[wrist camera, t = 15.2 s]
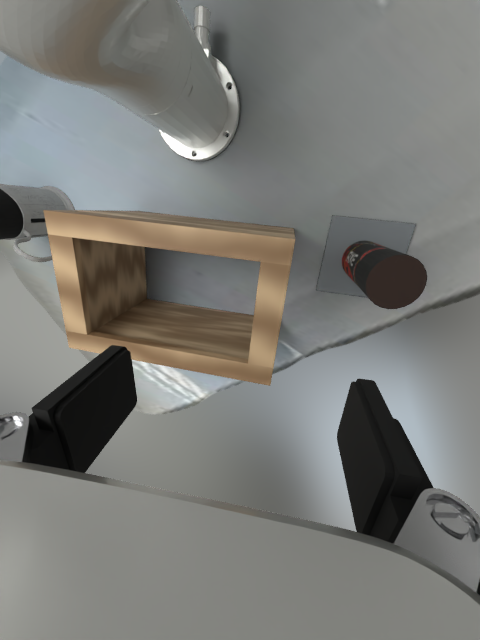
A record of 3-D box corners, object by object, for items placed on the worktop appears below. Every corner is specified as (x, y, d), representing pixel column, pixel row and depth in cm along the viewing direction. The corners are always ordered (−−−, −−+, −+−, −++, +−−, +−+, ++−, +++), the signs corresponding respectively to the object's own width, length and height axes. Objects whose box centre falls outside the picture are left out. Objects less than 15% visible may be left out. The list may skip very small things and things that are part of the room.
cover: (137, 211, 45) (43, 210, 28) (293, 228, 42) (295, 239, 25) (142, 302, 52) (69, 347, 35) (277, 324, 49) (270, 385, 31)
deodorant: (376, 279, 42) (417, 311, 29) (338, 276, 43) (360, 306, 29) (385, 241, 40) (434, 256, 26) (345, 239, 41) (372, 253, 27)
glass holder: (43, 174, 46) (-61, 158, 32) (107, 232, 48) (34, 240, 34) (26, 213, 49) (-75, 214, 36) (86, 266, 51) (13, 286, 38)
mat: (332, 215, 40) (332, 215, 40) (415, 223, 39) (416, 223, 38) (315, 289, 45) (316, 290, 45) (389, 300, 43) (389, 300, 43)
